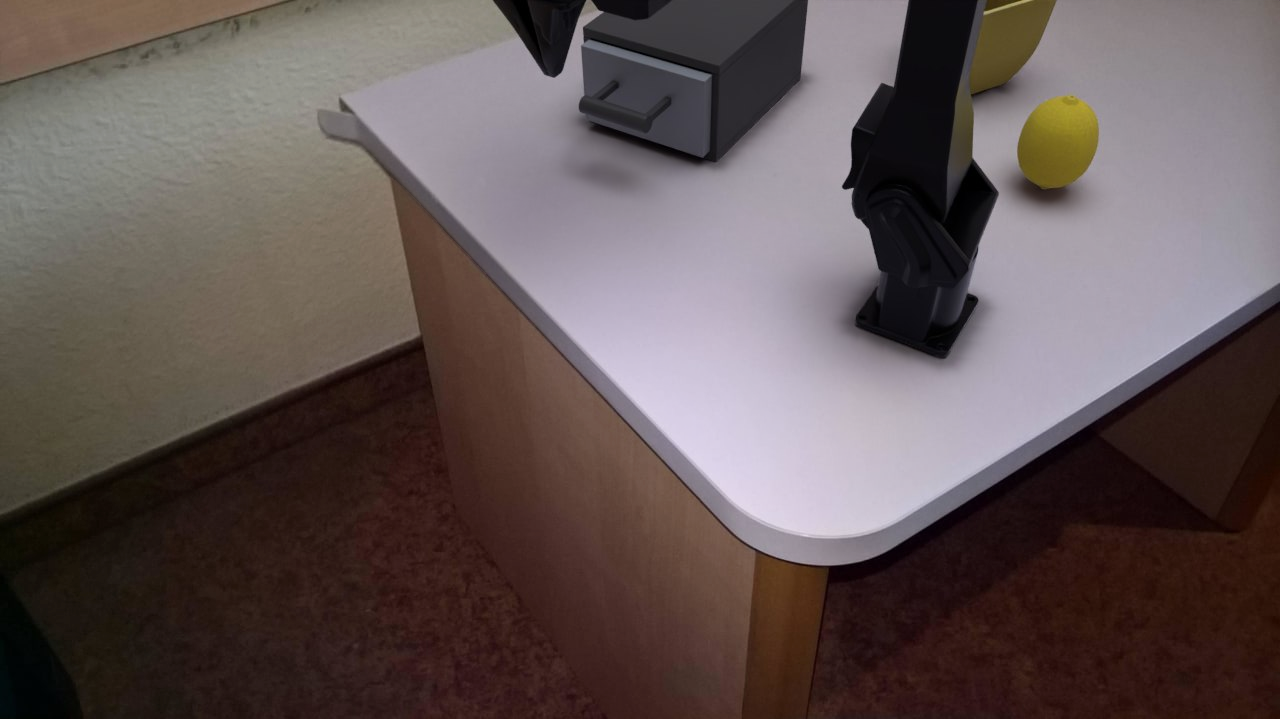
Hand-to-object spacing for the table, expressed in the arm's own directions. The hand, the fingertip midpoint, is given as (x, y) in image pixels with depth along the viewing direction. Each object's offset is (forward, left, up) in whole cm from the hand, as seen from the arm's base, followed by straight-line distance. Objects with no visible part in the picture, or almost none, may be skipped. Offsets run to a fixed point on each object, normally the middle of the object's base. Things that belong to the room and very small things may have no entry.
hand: (553, 74), depth 70 cm
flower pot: (+35, -19, -12) cm, 42 cm away
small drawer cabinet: (+20, 0, -12) cm, 23 cm away
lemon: (+22, -30, -12) cm, 39 cm away
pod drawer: (+16, 0, -11) cm, 19 cm away
